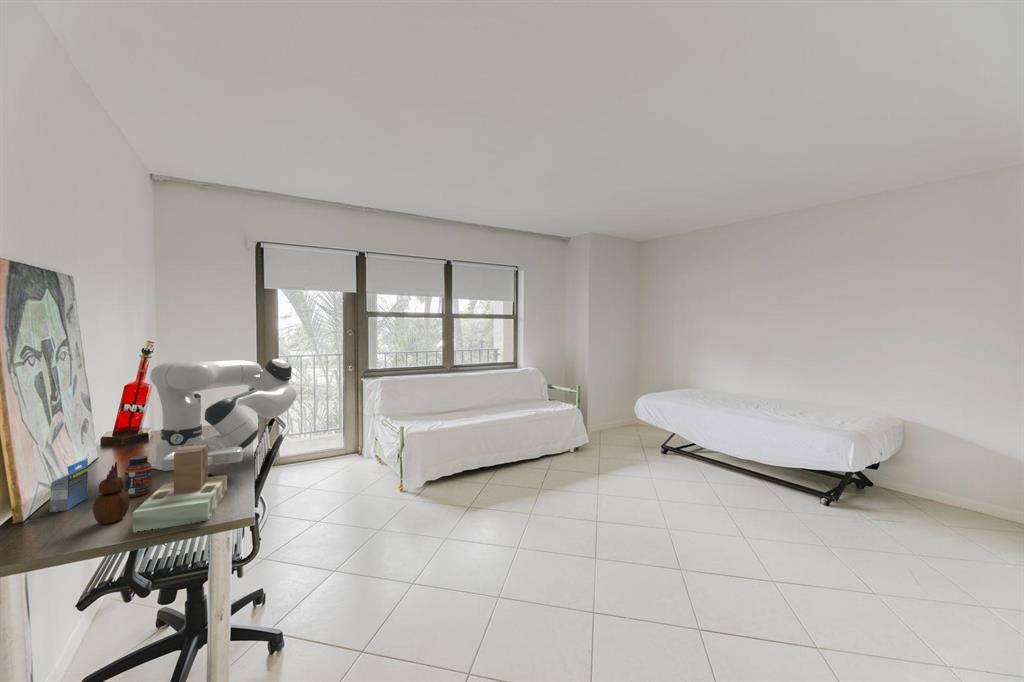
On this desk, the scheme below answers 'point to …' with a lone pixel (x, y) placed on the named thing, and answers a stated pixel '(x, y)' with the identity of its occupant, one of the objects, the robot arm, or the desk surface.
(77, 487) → the label tape box
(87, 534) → the desk surface
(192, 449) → the walnut block
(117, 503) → the wooden figurine
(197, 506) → the trap runway
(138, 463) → the supplement bottle
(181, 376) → the robot arm
